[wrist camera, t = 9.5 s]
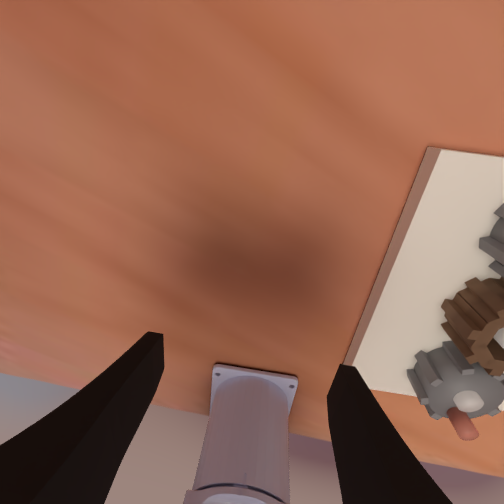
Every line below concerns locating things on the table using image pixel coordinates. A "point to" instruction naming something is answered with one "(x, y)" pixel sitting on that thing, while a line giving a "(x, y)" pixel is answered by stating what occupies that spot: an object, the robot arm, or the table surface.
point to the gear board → (436, 289)
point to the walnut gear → (477, 322)
